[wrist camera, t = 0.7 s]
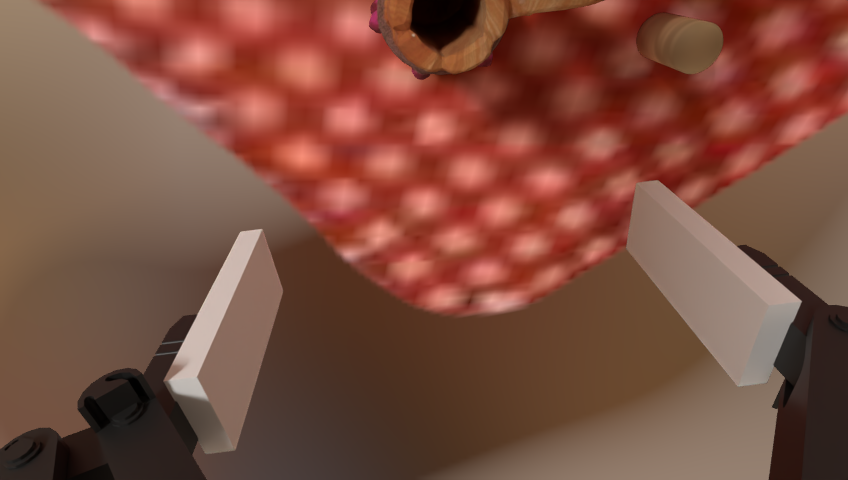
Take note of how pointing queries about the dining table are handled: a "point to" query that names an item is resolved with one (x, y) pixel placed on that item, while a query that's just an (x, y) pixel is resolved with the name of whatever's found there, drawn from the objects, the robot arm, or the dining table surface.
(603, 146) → the dining table surface
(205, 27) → the dining table surface
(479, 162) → the dining table surface
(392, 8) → the mug
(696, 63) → the dowel short
